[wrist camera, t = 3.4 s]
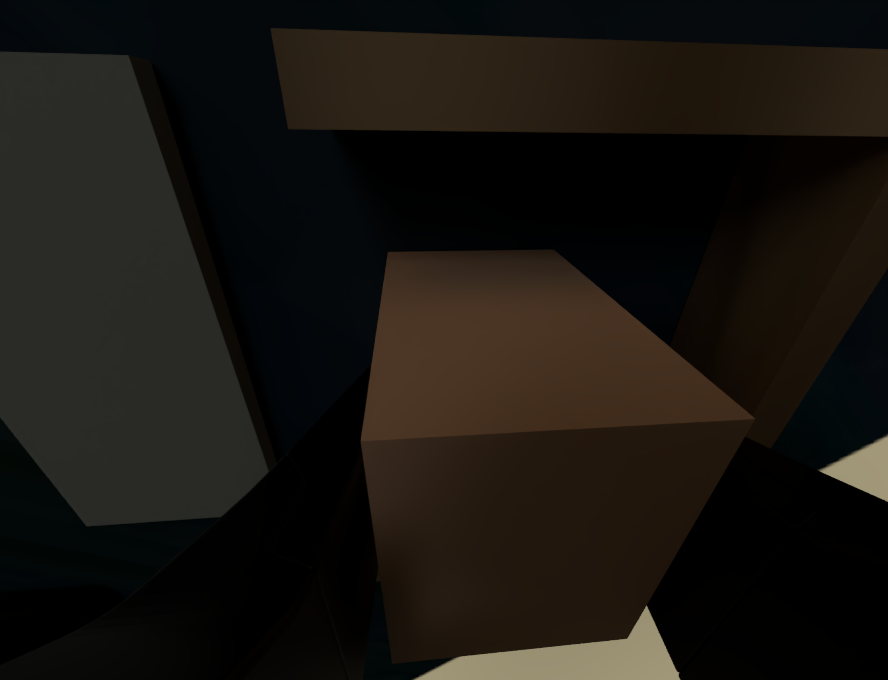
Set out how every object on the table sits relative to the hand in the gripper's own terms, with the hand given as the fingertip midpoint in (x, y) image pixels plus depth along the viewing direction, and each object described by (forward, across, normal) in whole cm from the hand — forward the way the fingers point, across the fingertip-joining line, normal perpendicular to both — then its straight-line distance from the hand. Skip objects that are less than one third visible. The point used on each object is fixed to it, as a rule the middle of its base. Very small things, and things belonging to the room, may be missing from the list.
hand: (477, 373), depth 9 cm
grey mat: (+2, +9, 0) cm, 9 cm away
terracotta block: (+2, 0, 0) cm, 2 cm away
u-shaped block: (+2, -2, 0) cm, 3 cm away
